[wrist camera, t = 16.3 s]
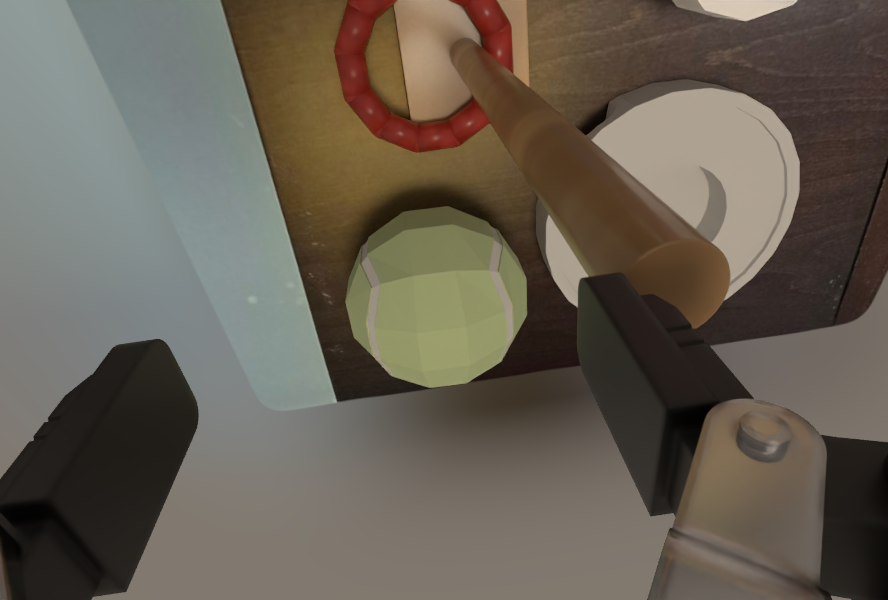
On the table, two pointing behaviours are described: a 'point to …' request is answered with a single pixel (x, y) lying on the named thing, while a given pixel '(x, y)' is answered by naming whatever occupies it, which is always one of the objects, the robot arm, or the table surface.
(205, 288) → the table surface
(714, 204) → the grey plate
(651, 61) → the table surface
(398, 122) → the ring
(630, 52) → the table surface
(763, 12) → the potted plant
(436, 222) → the tennis ball
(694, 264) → the peg stand
